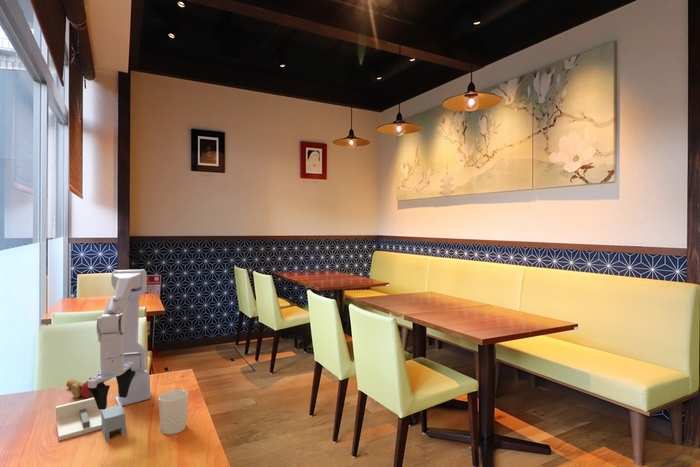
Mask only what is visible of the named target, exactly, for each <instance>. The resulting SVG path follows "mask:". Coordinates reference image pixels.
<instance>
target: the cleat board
mask: <svg viewBox="0 0 700 467" xmlns="http://www.w3.org/2000/svg"><path fill="white" fill-rule="evenodd" d="M106 408H108V405H107V406H106ZM55 416H56V417H55V420H56V421H55V423H56V429H57V430H56V431H57V437H58V441H65V440H67V439H71V438H75V437H78V436H80V435H81V436H82V435H85V434H88V433H92V432H95V431H99V430H102V426H101V409H98V407H97V404H96V401H95V399H94V397H93V398H86V399H81V400H77V401H73V402H68V403H64V404H62V405H56V406H55Z"/></svg>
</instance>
